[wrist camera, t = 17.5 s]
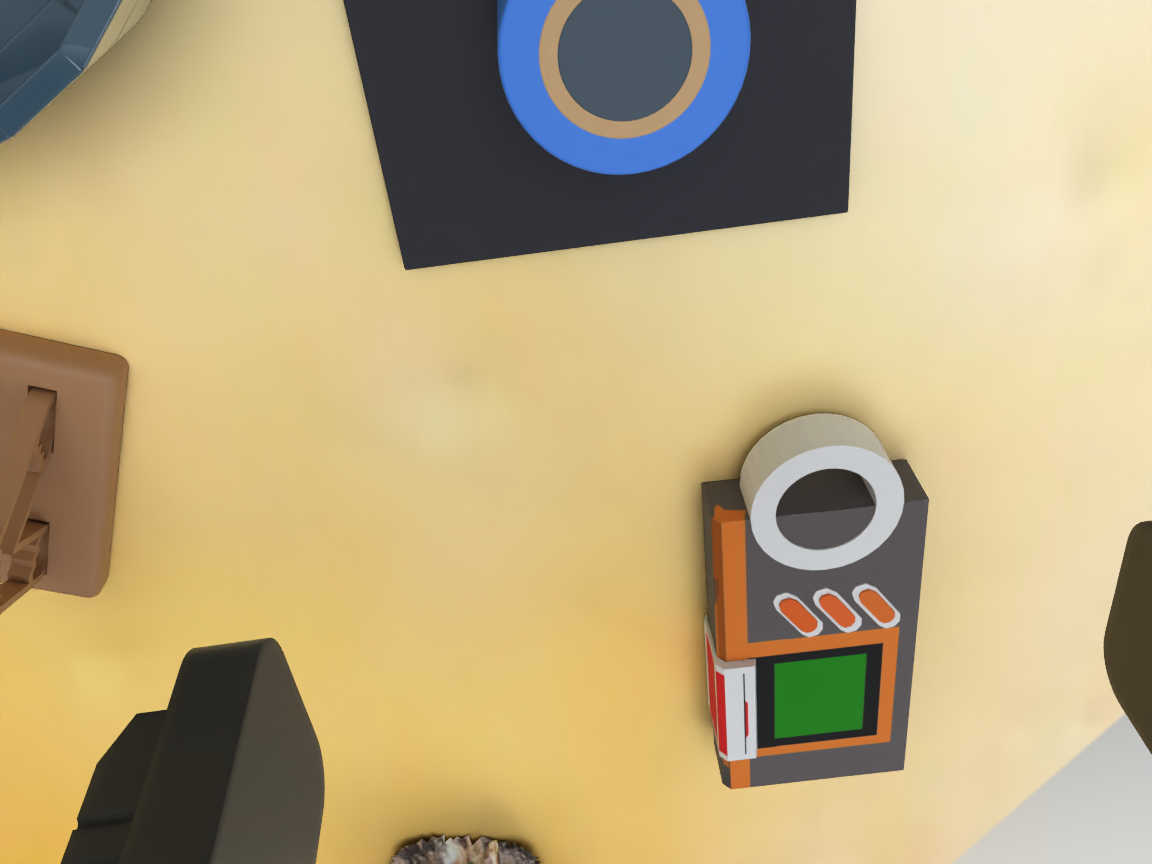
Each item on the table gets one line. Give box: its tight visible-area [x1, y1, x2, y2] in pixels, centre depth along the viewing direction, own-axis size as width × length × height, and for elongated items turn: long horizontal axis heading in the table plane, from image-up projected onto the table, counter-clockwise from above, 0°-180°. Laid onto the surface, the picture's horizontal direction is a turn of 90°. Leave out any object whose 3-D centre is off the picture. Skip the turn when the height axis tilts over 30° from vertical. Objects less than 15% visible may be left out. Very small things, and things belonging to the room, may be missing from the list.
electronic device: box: [702, 413, 929, 789], centre depth 36 cm, size 7×3×15 cm
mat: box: [344, 0, 856, 270], centre depth 25 cm, size 12×12×1 cm
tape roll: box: [497, 0, 751, 175], centre depth 23 cm, size 5×5×4 cm
